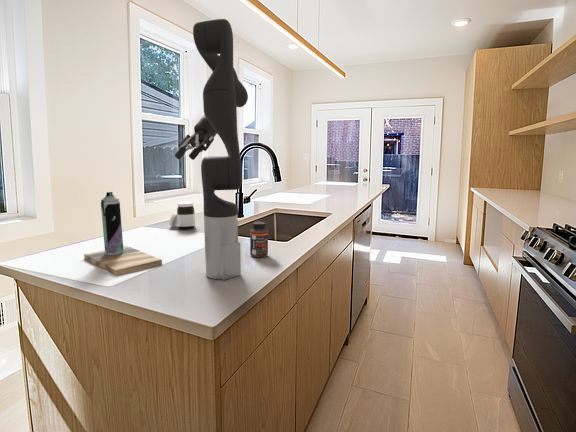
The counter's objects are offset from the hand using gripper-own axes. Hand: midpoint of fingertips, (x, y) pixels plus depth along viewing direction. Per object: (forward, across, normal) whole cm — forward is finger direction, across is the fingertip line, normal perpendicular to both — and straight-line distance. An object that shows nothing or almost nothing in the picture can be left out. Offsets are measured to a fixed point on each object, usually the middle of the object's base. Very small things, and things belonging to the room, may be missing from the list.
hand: (183, 157), depth 127 cm
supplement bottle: (+15, +25, +31) cm, 42 cm away
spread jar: (+9, -33, +37) cm, 50 cm away
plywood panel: (+39, -3, +7) cm, 39 cm away
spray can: (+37, -9, +6) cm, 39 cm away
